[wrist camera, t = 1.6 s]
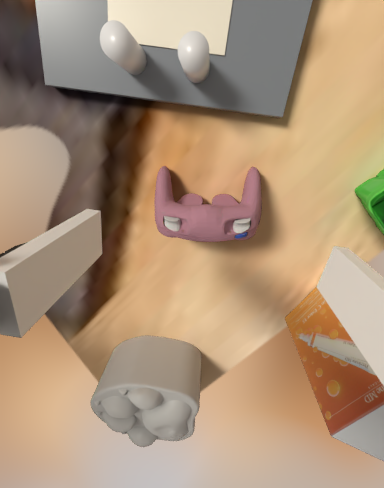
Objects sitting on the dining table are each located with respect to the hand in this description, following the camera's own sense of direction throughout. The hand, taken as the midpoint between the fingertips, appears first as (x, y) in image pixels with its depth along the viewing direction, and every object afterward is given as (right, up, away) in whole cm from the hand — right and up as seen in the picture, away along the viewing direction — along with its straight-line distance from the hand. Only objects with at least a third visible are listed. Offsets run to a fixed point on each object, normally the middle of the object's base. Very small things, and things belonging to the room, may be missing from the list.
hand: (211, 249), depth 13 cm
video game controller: (+1, +5, +11) cm, 12 cm away
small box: (+15, -7, +15) cm, 22 cm away
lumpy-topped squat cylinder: (-6, -17, +21) cm, 28 cm away
